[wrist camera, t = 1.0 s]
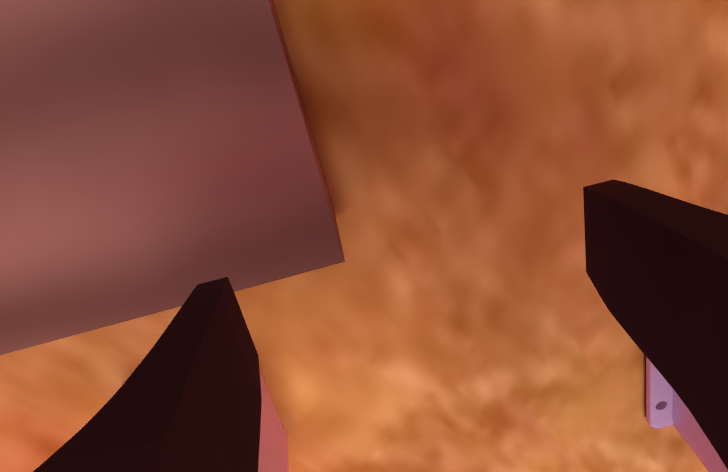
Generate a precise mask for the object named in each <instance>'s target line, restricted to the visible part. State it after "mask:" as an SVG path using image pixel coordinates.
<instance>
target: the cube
mask: <svg viewBox="0 0 728 472" xmlns="http://www.w3.org/2000/svg"><path fill="white" fill-rule="evenodd" d="M259 371H260V370H259ZM125 382H126V381H125ZM125 382H123V383H122V385H123V384H124V383H125ZM260 382H261V396H262V406H261V427H260V445H259V463H258V472H289V468H288V445H287V435H286V433H285V430H284V428H283V426H282V423H281V421H280V418H279V416H278V414H277V411H276V409H275V406H274V404H273V402H272V399H271V397H270V394H269V392H268V390H267V387H266V385H265V382H264V380H263V378H262V375H261V373H260ZM121 387H122V386H121Z"/></svg>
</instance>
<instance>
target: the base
mask: <svg viewBox="0 0 728 472" xmlns="http://www.w3.org/2000/svg"><path fill="white" fill-rule="evenodd" d="M341 262H345V260H344V255H343V250H342V246H341V241H340V237H339V232H338V227H337V223H336V218H335V214H334V211H333V207H332V204H331V200H330V197H329V193H328V190H327V186H326V183H325V179H324V176H323V173H322V169H321V166H320V162H319V159H318V155H317V152H316V148H315V145H314V141H313V138H312V134H311V131H310V128H309V124H308V121H307V117H306V114H305V110H304V107H303V103H302V100H301V96H300V93H299V89H298V86H297V83H296V79H295V76H294V72H293V69H292V65H291V62H290V58H289V55H288V51H287V48H286V44H285V41H284V37H283V34H282V31H281V27H280V24H279V20H278V17H277V13H276V10H275V6H274V3H273V0H0V355H2V354H6V353H10V352H13V351H17V350H21V349H24V348H28V347H32V346H36V345H39V344H43V343H47V342H50V341H54V340H58V339H61V338H65V337H69V336H72V335H76V334H80V333H83V332H87V331H91V330H94V329H98V328H102V327H105V326H109V325H113V324H117V323H120V322H124V321H128V320H131V319H135V318H139V317H142V316H146V315H150V314H153V313H157V312H161V311H164V310H168V309H172V308H175V307H179V306H183V304H184V303H185V301H186V300H187V298H188V297H189V295H190V294H191V293H192V291H193V290H194V289H195V287H196V286H197V285H198V284H201V283H205V282H209V281H213V280H217V279H221V278H225V277H228V278H229V281H230V283H231V286H232V289H233V291H238V290H242V289H245V288H249V287H253V286H257V285H260V284H264V283H268V282H271V281H275V280H279V279H282V278H286V277H290V276H293V275H297V274H301V273H304V272H308V271H312V270H315V269H319V268H323V267H327V266H330V265H334V264H338V263H341Z"/></svg>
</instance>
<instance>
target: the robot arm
mask: <svg viewBox="0 0 728 472" xmlns="http://www.w3.org/2000/svg"><path fill="white" fill-rule="evenodd" d="M583 190H584V219H585V247H586V272H587V274H588V276H589V277H590V279H591V281H592V283H593V284H594V286H595V288H596V290H597V291H598V293H599V295H600V296H601V298H602V300H603V301H604V303H605V305H606V306H607V308H608V309H609V311H610V312H611V313H612V315H613V316H614V317H615V319H616V320H617V321H618V322H619V324H620V325H621V326H622V327H623V328H624V330H625V331H626V332H627V333H628V335H629V336H630V337H631V338H632V340H633V341H634V342H635V343H636V344H637V346H638V347H639V348H640V349H641V351H642V352H643V353H644V354H645V355H646V419H647V422H648V423H649V425H650V426H651V427H652V428H655V429H659V428H664V427H667V426H671V425H674V426H675V427H676V429H677V430H678V431H679V433H680V434H681V435H682V437H683V438H684V439H685V441H686V442H687V443H688V445H689V446H690V447H691V449H692V450H693V451H694V453H695V454H696V455H697V457H698V458H699V459H700V461H701V462H702V463H703V465H704V466H705V467H706V469H707V470H708V471H709V472H728V215H726V214H723V213H720V212H716V211H713V210H710V209H707V208H703V207H700V206H697V205H694V204H691V203H688V202H685V201H682V200H679V199H676V198H673V197H670V196H667V195H664V194H661V193H658V192H655V191H652V190H648V189H645V188H642V187H639V186H636V185H633V184H629V183H626V182H622V181H617V180H610V181H606V182H602V183H598V184H594V185H590V186H586V187H583ZM261 406H262V396H261V382H260V371H259V360H258V354H257V351H256V349H255V346H254V343H253V341H252V338H251V336H250V333H249V330H248V328H247V325H246V323H245V320H244V317H243V315H242V312H241V310H240V307H239V304H238V302H237V299H236V296H235V294H234V291H233V289H232V286H231V283H230V281H229V278H228V277H225V278H221V279H217V280H213V281H209V282H205V283H201V284H198V285H197V286H196V287H195V289H194V290H193V291H192V293H191V294H190V295H189V297H188V298H187V300H186V301H185V303H184V304H183V306H182V307H181V309H180V310H179V311H178V313H177V314H176V316H175V317H174V319H173V320H172V322H171V323H170V324H169V326H168V327H167V329H166V330H165V331H164V333H163V334H162V336H161V337H160V338H159V340H158V341H157V343H156V344H155V345H154V347H153V348H152V349H151V351H150V352H149V353H148V354H147V356H146V357H145V358H144V359H143V361H142V362H141V363H140V364H139V366H138V367H137V368H136V369H135V371H134V372H133V373H132V374H131V376H130V377H129V378H128V379H127V381H126V382H125V383H124V384H123V385H122V387H121V388H120V389H119V390H118V391H117V392H116V393H115V395H114V396H113V397H112V398H111V399H110V400H109V401H108V402H107V403H106V404H105V405H104V406H103V408H102V409H101V410H100V411H99V412H98V413H97V414H96V415H95V416H94V417H93V418H92V419H91V420H90V421H89V422H88V423H87V424H86V425H85V426H84V427H83V428H82V429H81V430H80V431H79V432H78V433H76V434H75V435H74V436H73V437H72V438H71V439H70V440H69V441H67V442H66V443H65V444H64V445H63V446H62V447H61V448H60V449H59V450H57V451H56V452H55V453H54V454H53V455H52V456H51V457H50V458H48V459H47V460H46V461H45V462H44V463H43V464H42V465H41V466H39V467H38V468H37V469H36V470H35V471H33V472H258V463H259V445H260V427H261Z"/></svg>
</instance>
